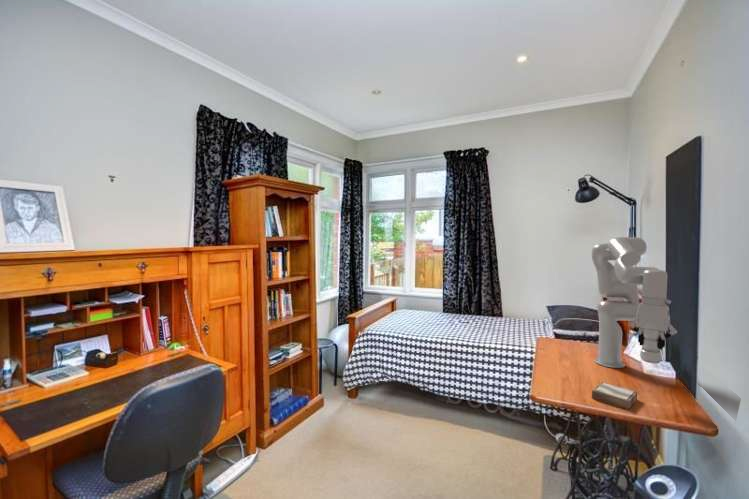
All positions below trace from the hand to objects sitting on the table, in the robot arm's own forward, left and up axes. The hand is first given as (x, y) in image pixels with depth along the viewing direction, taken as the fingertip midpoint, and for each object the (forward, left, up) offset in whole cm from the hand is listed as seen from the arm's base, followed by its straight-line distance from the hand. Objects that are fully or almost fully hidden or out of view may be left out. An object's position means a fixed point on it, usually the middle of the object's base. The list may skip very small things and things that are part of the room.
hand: (651, 346), depth 139 cm
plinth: (+13, -9, -20) cm, 25 cm away
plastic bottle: (0, 0, -7) cm, 7 cm away
